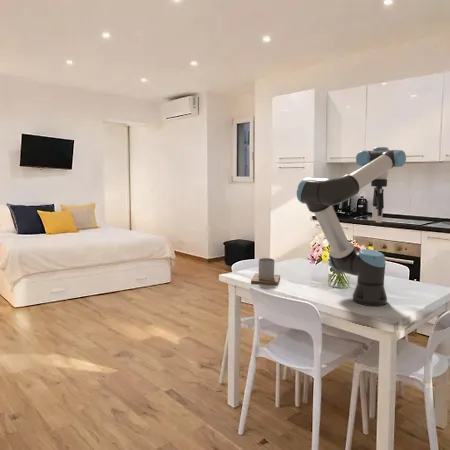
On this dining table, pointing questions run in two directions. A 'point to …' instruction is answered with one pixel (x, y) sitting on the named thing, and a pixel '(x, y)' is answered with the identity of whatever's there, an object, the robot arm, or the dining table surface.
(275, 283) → the walnut board
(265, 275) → the cup
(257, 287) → the dining table surface
